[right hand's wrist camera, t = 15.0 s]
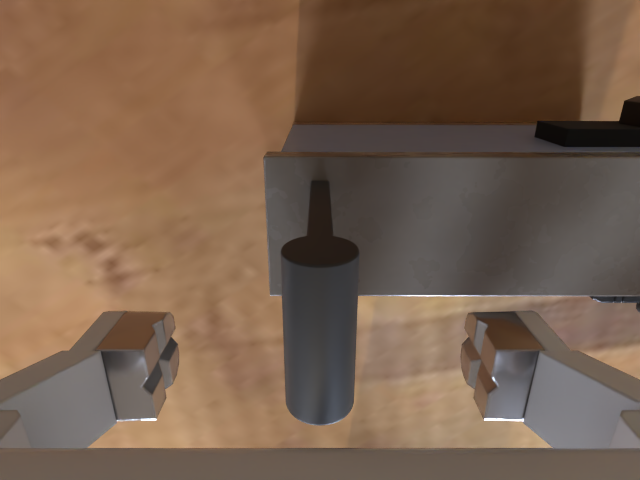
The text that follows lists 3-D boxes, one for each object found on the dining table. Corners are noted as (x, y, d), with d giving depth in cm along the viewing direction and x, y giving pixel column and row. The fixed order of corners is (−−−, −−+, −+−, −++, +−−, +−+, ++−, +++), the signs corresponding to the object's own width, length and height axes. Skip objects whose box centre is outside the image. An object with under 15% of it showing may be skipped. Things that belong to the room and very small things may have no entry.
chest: (295, 217, 28) (284, 284, 19) (293, 122, 25) (280, 150, 17) (560, 218, 28) (665, 285, 19) (581, 122, 25) (710, 151, 17)
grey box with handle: (272, 284, 19) (236, 448, 11) (266, 151, 17) (216, 232, 9) (666, 285, 19) (924, 449, 11) (711, 151, 17) (1077, 233, 9)
